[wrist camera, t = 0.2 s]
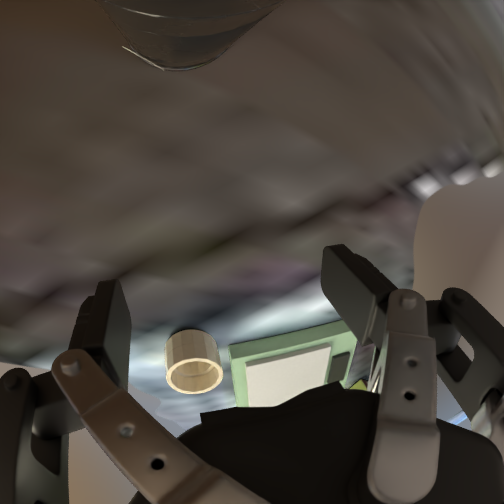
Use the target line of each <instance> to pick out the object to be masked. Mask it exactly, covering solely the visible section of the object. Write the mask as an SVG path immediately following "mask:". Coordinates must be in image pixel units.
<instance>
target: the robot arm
mask: <svg viewBox="0 0 504 504" xmlns="http://www.w3.org/2000/svg"><path fill="white" fill-rule="evenodd" d="M95 1H96V2H97V3H98V4H99V6H100V7H101V8H102V9H103V10H104V12H105V13H106V14H107V15H108V17H109V18H110V19H111V20H112V22H113V23H114V24H115V26H116V27H117V28H118V30H119V31H120V32H121V33H122V35H123V36H124V37H125V39H126V40H127V41H128V43H129V45H130V47H131V48H132V50H133V51H134V52H135V53H134V52H132V51H131V50H129V49H127V48H125V47H123V46H122V47H123V48H125V49H127V50H129V51H131V52H132V53H134V54H136V55H137V56H138V57H139V58H140V59H142V60H143V61H144V62H146V63H148V64H149V65H151V66H154V67H156V68H160V69H162V70H169V71H185V70H191V69H196V68H199V67H202V66H204V65H206V64H208V63H210V62H212V61H213V60H215V59H216V58H218V57H219V56H220V55H221V54H223V53H224V52H225V51H226V50H227V49H228V48H229V46H230V45H231V44H233V43H234V42H235V41H236V40H237V39H238V38H240V37H241V36H242V35H243V34H244V33H246V32H247V31H248V30H249V29H250V28H252V27H253V26H254V25H255V24H257V23H258V22H259V21H260V20H262V19H263V18H264V17H265V16H267V15H268V14H269V13H271V12H272V11H273V10H274V9H276V8H277V7H278V6H280V5H281V4H282V3H284V2H285V1H287V0H95ZM321 287H322V291H323V293H324V295H325V296H326V297H327V299H328V300H329V301H330V303H331V304H332V306H333V307H334V308H335V310H336V311H337V312H338V314H339V315H340V316H341V318H342V319H343V321H344V322H345V323H346V325H347V326H348V328H349V329H350V330H351V332H352V333H353V334H354V336H355V337H356V339H357V340H358V341H359V343H360V344H361V346H362V347H363V346H366V345H369V344H372V343H374V345H375V346H376V347H375V350H374V353H373V359H372V365H371V371H370V376H369V381H368V386H367V390H361V389H344V388H343V386H342V385H341V383H340V381H339V380H338V381H335V382H332V383H329V384H325V385H322V386H319V387H315V388H312V389H308V390H306V391H304V392H302V393H301V394H299V395H297V396H295V397H293V398H291V399H289V400H287V401H285V402H283V403H281V404H279V405H277V406H273V407H233V408H228V409H222V410H217V411H211V412H205V413H200V417H201V422H202V423H201V424H199V425H196V426H194V427H192V428H190V429H188V430H187V431H185V432H184V433H183V434H181V435H180V436H179V437H177V438H175V437H174V436H173V435H172V434H171V433H170V432H169V431H167V430H166V429H165V428H164V427H163V426H162V425H161V424H160V423H159V422H158V421H156V420H155V419H154V418H153V417H152V416H151V415H150V414H149V413H148V412H147V411H146V410H145V409H144V408H143V407H142V406H141V405H140V404H139V403H138V402H137V401H136V400H135V399H134V398H133V397H132V396H131V395H130V394H129V393H128V372H129V354H130V340H131V328H132V325H131V317H130V312H129V309H128V306H127V303H126V300H125V297H124V294H123V291H122V287H121V284H120V282H119V280H118V279H113V280H106V281H100V282H99V283H98V286H97V289H96V293H95V296H88V298H87V299H86V300H85V301H84V302H83V304H82V305H81V307H80V310H79V313H78V317H77V320H76V325H75V327H74V330H73V334H72V337H71V341H70V344H69V348H68V350H67V351H65V352H63V353H62V354H60V355H59V356H58V357H57V358H56V359H55V360H54V362H53V364H52V368H51V371H49V372H46V373H43V374H40V375H38V376H34V377H31V376H30V374H29V373H28V372H27V370H25V369H23V368H14V369H11V370H9V371H7V372H6V373H5V374H4V375H3V376H2V377H1V378H0V504H69V489H68V447H69V433H71V432H74V431H77V430H80V429H83V428H86V429H87V430H88V432H89V433H90V434H91V436H92V437H93V438H94V439H95V441H96V442H97V443H98V445H99V446H100V447H101V448H102V450H103V451H104V452H105V453H106V454H107V456H108V457H109V458H110V459H111V461H112V462H113V463H114V464H115V465H116V466H117V468H118V469H119V470H120V471H121V472H122V473H123V474H124V476H125V477H126V478H127V479H128V480H129V481H130V482H131V483H132V484H133V485H134V486H135V487H136V488H137V490H138V491H137V493H136V494H135V496H134V497H133V498H132V500H131V501H130V502H129V504H504V327H503V326H502V325H501V324H500V323H499V322H498V321H497V320H496V319H495V318H494V317H493V316H492V315H491V314H490V313H489V312H488V311H487V310H486V309H485V308H484V307H483V306H482V305H481V304H480V303H479V302H478V301H477V300H475V299H474V298H473V297H472V296H471V295H470V294H469V293H467V292H466V291H464V290H462V289H459V288H447V289H445V290H444V291H443V294H442V297H441V300H430V301H425V299H424V297H423V296H422V295H420V294H419V293H417V292H416V291H413V290H410V289H398V288H397V287H396V286H395V285H394V284H393V283H392V282H391V281H390V280H389V279H387V278H386V277H385V276H384V275H383V274H382V273H380V271H379V270H378V269H377V268H376V267H374V265H373V264H372V263H371V262H369V261H368V260H367V259H366V258H364V257H362V256H360V255H358V254H354V253H353V252H352V251H351V250H349V249H348V248H347V247H346V246H345V245H344V244H338V245H332V246H326V247H325V248H324V250H323V258H322V270H321ZM461 335H462V336H463V337H464V338H465V339H466V340H467V342H468V343H469V344H470V345H471V346H472V348H473V350H474V360H473V361H471V360H470V359H469V358H468V357H467V356H466V354H465V353H464V352H463V351H462V350H461V348H460V347H459V346H458V345H457V343H458V341H459V339H460V337H461ZM437 374H438V375H439V377H440V378H441V379H442V381H443V382H444V383H445V385H446V386H447V388H448V389H449V391H450V392H451V393H452V395H453V396H454V398H455V399H456V400H457V402H458V403H459V405H460V406H461V408H462V409H463V411H464V412H465V414H466V415H467V417H468V418H469V420H470V421H471V428H472V431H470V430H467V429H465V428H462V427H459V426H456V425H454V424H451V423H448V422H446V421H443V420H441V419H438V418H436V410H437V408H436V407H437Z"/></svg>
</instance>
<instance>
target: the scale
mask: <svg viewBox="0 0 504 504" xmlns="http://www.w3.org/2000/svg"><path fill="white" fill-rule="evenodd" d="M356 343H357V339H356V337H355V336H354V334H353V333H352V332H351V330H350V329H349V328H348V326H347V325H346V323H345V322H344V321H343V320H340V321H337V322H333V323H329V324H325V325H321V326H317V327H313V328H309V329H304V330H300V331H296V332H292V333H287V334H283V335H278V336H273V337H269V338H264V339H259V340H254V341H249V342H244V343H239V344H234V345H229V346H228V350H229V357H230V364H231V372H232V379H233V386H234V393H235V400H236V406H237V407H273V406H277V405H279V404H281V403H283V402H285V401H287V400H289V399H291V398H293V397H295V396H297V395H299V394H301V393H302V392H304V391H306V390H308V389H312V388H315V387H319V386H322V385H325V384H329V383H332V382H335V381H338V380H339V381H340V383H341V385H342V386H343V388H344V386H345V383H346V379H347V376H348V372H349V369H350V365H351V361H352V358H353V354H354V350H355V346H356Z"/></svg>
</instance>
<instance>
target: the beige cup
mask: <svg viewBox="0 0 504 504" xmlns="http://www.w3.org/2000/svg"><path fill="white" fill-rule="evenodd" d="M164 352H165V369H166V379H167V382H168V384H169V385H170V386H171V387H172V388H173V389H175V390H177V391H179V392H182V393H189V394H197V393H203V392H207V391H209V390H211V389H213V388H215V387H216V386H217V385H218V384H219V383H220V382H221V380H222V378H223V370H222V365H221V361H220V357H219V353H218V349H217V344H216V341H215V340H214V339H213V337H212V336H211V335H209V334H207V333H205V332H203V331H199V330H193V329H189V330H183V331H180V332H178V333H176V334H174V335H172V336H171V337H170V338H169V339H168V341H167V342H166V345H165V349H164Z"/></svg>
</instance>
